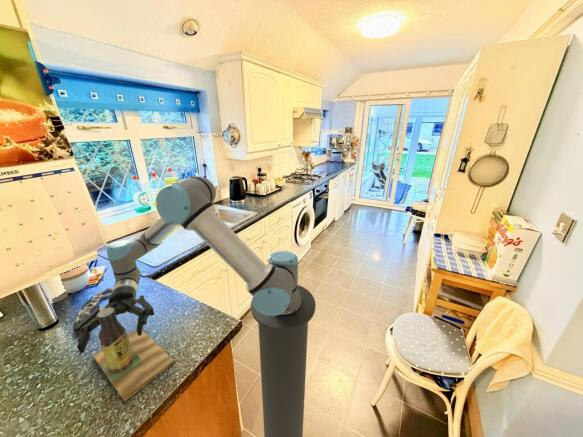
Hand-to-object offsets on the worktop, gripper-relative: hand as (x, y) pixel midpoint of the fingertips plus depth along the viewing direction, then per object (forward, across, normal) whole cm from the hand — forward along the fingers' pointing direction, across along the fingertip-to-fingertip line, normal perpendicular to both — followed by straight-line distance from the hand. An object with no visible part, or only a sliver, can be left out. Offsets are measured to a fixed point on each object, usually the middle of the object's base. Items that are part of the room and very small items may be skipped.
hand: (110, 340), depth 66 cm
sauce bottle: (-2, 0, -12) cm, 13 cm away
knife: (-35, +15, -14) cm, 41 cm away
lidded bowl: (-57, +27, -14) cm, 65 cm away
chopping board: (-4, -2, -14) cm, 14 cm away
